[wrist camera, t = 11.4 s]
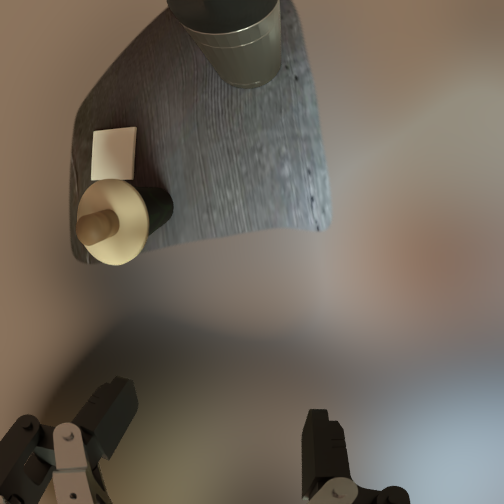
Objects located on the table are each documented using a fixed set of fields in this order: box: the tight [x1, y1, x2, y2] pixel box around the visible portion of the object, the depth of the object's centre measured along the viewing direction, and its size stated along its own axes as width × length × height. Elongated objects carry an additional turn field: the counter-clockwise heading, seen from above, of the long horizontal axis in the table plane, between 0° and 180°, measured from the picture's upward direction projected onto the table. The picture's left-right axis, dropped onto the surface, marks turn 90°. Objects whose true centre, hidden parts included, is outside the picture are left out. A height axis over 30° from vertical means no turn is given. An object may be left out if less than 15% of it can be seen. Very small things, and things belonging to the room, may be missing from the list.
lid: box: [76, 178, 149, 265], centre depth 26 cm, size 10×10×5 cm
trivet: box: [91, 127, 137, 180], centre depth 38 cm, size 8×8×1 cm
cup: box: [134, 187, 174, 236], centre depth 34 cm, size 8×8×12 cm
